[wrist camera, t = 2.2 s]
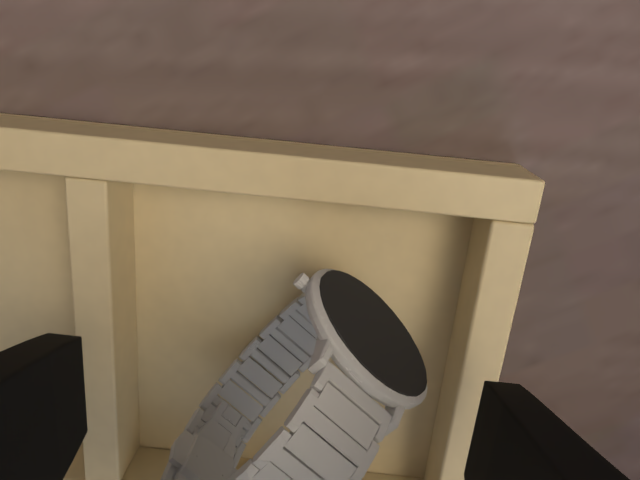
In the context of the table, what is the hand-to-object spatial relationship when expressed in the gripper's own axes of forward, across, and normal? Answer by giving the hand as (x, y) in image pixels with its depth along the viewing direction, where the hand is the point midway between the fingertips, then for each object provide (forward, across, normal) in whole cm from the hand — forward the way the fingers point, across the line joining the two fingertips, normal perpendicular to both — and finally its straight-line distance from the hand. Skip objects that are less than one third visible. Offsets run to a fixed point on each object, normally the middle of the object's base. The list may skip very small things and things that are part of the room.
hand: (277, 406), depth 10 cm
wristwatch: (+3, 0, 0) cm, 3 cm away
